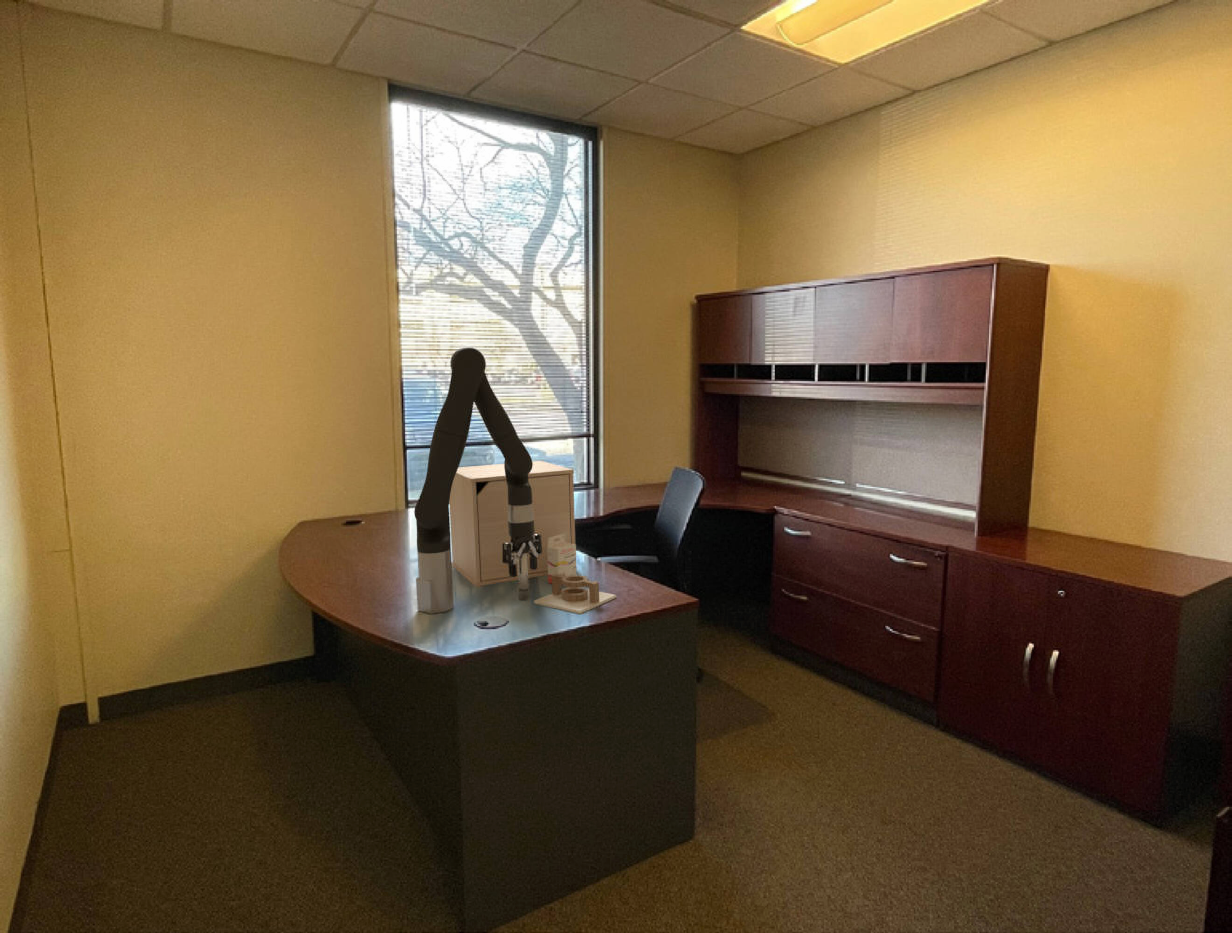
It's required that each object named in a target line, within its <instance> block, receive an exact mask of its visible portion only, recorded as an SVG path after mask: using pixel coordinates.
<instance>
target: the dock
mask: <svg viewBox="0 0 1232 933" xmlns="http://www.w3.org/2000/svg"><path fill="white" fill-rule="evenodd" d="M551 587H552V589H551V590H552V592H551V593H550V594H547V595H545V596H543V597H539V598H536V599H535V600H533V601H534V602H533V603H534V604H536V605H540V606H544V607H549V608H554V609H558V610H562V611H565V612H569V613H573V614H578V615H581V614H583V613H585V612H587V611H589V610H591V609H594V608H597V607H598V606H600V605H603V604H605V603H607V602H610V601H612V600H614V599H617V594H613V593H607V592H604V591H600V583H599V581H594V580H593V581H592V580H589V577H587V576H586V575H582V574H580V575H577V574H576V575H572V576H563V575H559V574H555V575H552V583H551ZM563 587H565V588H563Z"/></svg>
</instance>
